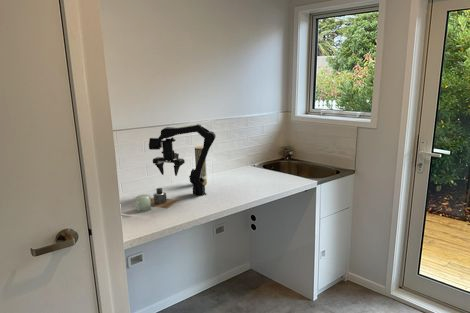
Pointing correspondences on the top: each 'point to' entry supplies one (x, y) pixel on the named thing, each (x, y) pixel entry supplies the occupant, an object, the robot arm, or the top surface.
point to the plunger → (159, 192)
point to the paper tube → (197, 154)
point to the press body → (160, 199)
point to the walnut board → (166, 205)
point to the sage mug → (143, 203)
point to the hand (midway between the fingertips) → (169, 175)
